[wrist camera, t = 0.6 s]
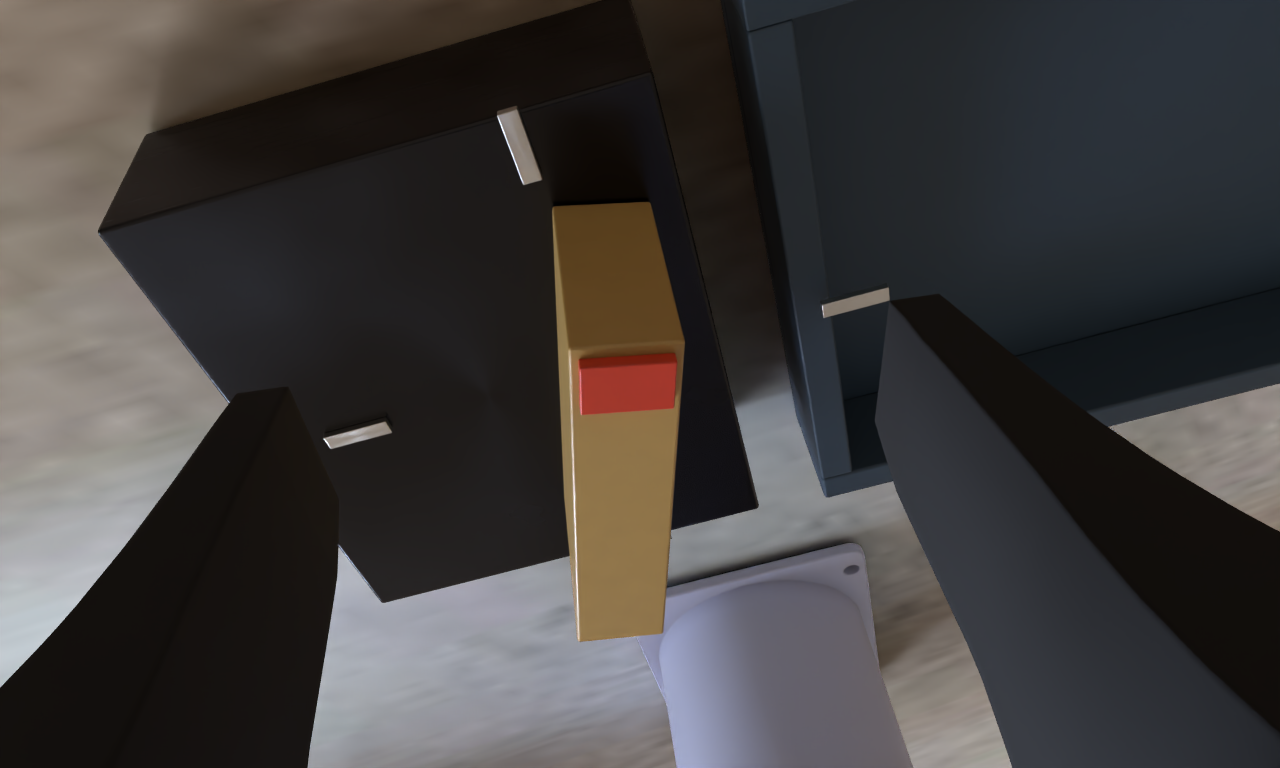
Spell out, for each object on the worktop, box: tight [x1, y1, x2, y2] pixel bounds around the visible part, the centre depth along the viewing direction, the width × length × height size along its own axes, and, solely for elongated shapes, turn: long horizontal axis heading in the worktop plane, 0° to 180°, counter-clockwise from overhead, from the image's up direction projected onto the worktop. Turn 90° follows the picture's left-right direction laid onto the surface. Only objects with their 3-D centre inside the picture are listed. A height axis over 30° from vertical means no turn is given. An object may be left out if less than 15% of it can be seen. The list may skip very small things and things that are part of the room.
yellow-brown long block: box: [552, 202, 685, 642], centre depth 19 cm, size 8×2×4 cm, turn 179°
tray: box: [721, 0, 1280, 497], centre depth 21 cm, size 14×17×3 cm
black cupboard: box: [98, 0, 890, 603], centre depth 22 cm, size 14×12×4 cm
